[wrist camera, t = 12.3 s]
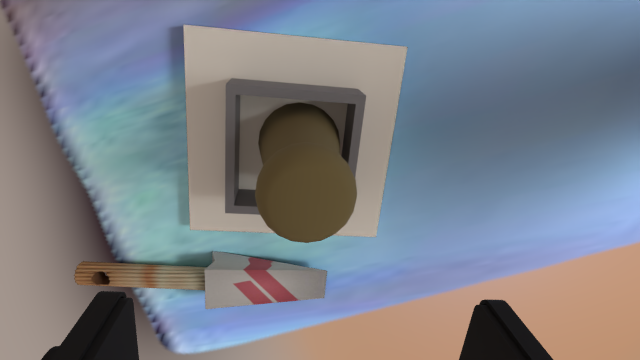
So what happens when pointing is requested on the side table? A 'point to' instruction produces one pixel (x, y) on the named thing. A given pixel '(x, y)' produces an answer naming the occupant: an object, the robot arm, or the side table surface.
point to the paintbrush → (215, 279)
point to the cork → (303, 175)
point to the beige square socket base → (272, 93)
